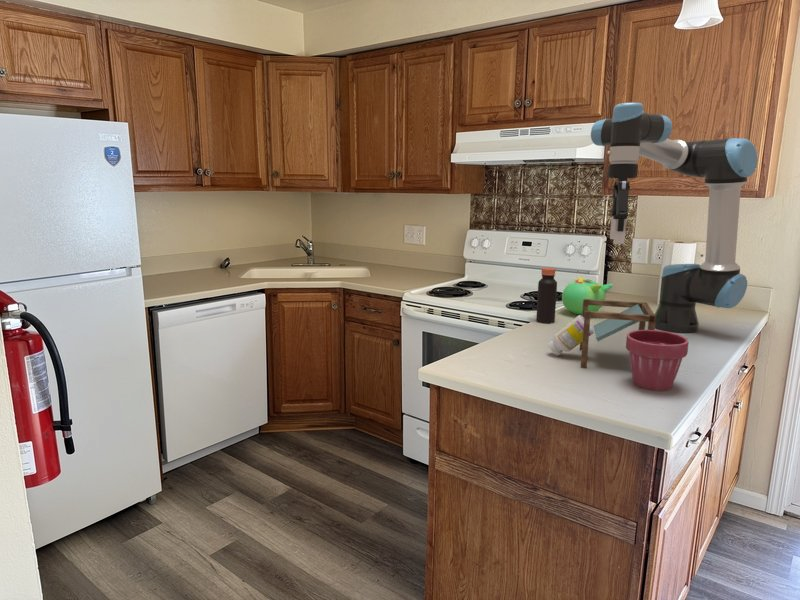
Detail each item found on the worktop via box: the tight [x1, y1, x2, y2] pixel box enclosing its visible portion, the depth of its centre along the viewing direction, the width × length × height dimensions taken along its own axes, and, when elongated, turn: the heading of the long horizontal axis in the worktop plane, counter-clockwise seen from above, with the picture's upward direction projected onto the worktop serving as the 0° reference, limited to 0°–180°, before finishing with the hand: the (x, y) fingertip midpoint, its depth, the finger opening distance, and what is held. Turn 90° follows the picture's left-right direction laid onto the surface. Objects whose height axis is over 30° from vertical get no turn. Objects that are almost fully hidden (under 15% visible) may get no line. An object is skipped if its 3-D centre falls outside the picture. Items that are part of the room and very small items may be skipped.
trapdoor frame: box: [579, 299, 656, 369], centre depth 159 cm, size 18×19×16 cm
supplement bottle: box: [547, 315, 595, 356], centre depth 163 cm, size 7×7×13 cm
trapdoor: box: [593, 304, 644, 342], centre depth 158 cm, size 14×15×1 cm
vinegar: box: [535, 267, 558, 324], centre depth 204 cm, size 7×7×20 cm
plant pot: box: [625, 329, 689, 392], centre depth 140 cm, size 14×14×13 cm
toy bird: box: [561, 276, 614, 316], centre depth 217 cm, size 18×17×15 cm
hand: (616, 241), depth 154 cm, fingers open, 13 cm apart
